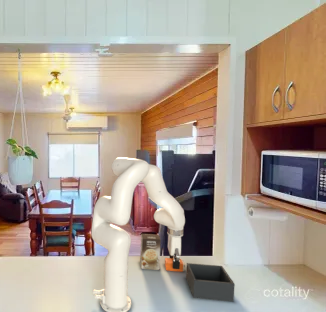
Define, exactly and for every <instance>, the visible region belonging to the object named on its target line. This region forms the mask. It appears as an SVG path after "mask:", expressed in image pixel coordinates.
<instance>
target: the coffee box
mask: <svg viewBox="0 0 326 312" xmlns="http://www.w3.org/2000/svg"><path fill="white" fill-rule="evenodd" d="M161 241H162V240H161V237H160V235H159V234H151V233H140V253H139V254H140V257H139V264H140V265H139V266H140V268H141V270H155V271H159V270H160V264H161V263H160V261H161Z"/></svg>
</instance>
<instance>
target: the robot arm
mask: <svg viewBox="0 0 326 312" xmlns="http://www.w3.org/2000/svg"><path fill="white" fill-rule="evenodd" d="M111 171H112V173H113V174H114V175H115V177H117V178H116V179H115V180H114V182H113V184H112V187H111V192H110V196H108V195H103V196H101V197H99V198H98V199H97V200H96V202H95V204H94V207H93V213H92V221H91V239H92V240H93V242H94V243H96V244H97V245H99V246H101V247H103V248H104V249H106V250H107V254H106V256H105V257H104V260H103V289H99V290H98V289H93V291H92V295H93V296H94V298H95V300H99V305H100V307H101V308H102V309H103V310H104V311H105V312H128V311H129V310H130V309H131V308H132V300H131V298H130V296H129V295H128V293H129V292H128V290H129V289H128V288H129V287H128V286H129V285H128V284H129V255H130V250H131V245H132V238H131V235H130V233H128V231H126V230H125V229H124V228H121V227H119V226H126V225H127V224H128V223H129V222H130V218H131V212H132V206H133V205H132V204H133V197H134V191H135V189H136V187H137V186H138V185H139V184H140V183H142V184H143V186H144V188H145V190H146V194H147V195H148V198H149V199H150V200H151V201H152V202H153V203H154V204H156V205H157V206H158V207H160V208H158V209H157V210H155V211H154V214H153V219H154V221H155V222H156V223H157V224H160V225H162V226H166V228H167V232H166V233H167V249H168V253H169V256H168V258H173V260H174V261H173V269H180V259H181V258H180V257H181V255H182V237H183V236H184V227H185V224H186V218H185V210H184V208H183V207H182V205H181V204H180V203H179V201H177V200H176V198H175V197H174V196H173V195H172V194H170V193H169V192H168V190H167V187H166V183H165V180H164V177H163V176H162V172H161V170H160V168H159V167H158V166H157V165H155V164H151V163H149V162H147V161H146V160H144V159H141V158H133V157H122V156H119V157H116V158H115V159H114V160H113V161H112V163H111ZM114 224H115V225H114Z"/></svg>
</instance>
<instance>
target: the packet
mask: <svg viewBox="0 0 326 312" xmlns="http://www.w3.org/2000/svg"><path fill="white" fill-rule="evenodd" d="M173 261H174V260H173V258H169V257H165V258H164V267H165V271H170V272H182V273H183V272H186V263H185V261H184V259H182V258H180V269H173Z"/></svg>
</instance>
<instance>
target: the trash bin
mask: <svg viewBox="0 0 326 312" xmlns="http://www.w3.org/2000/svg"><path fill="white" fill-rule="evenodd" d="M185 280H186V282H187V285H188V287H189V290H190V292H191V295H192V298H193V299H202V300H213V301H219V302H220V301H221V302H231V303H234V302H235V300H234V299H235V286H236V285H235V282H234V281H233V279H232V278H231V277H230V275H229V273H228V272H227V271H226V269H225V268H224V266H222V265H217V264H216V265H215V264H202V263H188V262H186V268H185Z"/></svg>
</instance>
